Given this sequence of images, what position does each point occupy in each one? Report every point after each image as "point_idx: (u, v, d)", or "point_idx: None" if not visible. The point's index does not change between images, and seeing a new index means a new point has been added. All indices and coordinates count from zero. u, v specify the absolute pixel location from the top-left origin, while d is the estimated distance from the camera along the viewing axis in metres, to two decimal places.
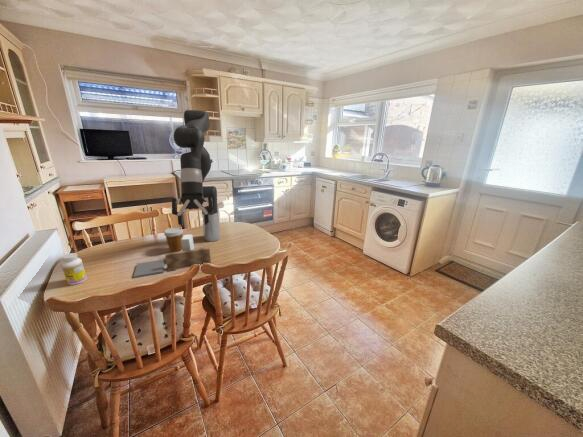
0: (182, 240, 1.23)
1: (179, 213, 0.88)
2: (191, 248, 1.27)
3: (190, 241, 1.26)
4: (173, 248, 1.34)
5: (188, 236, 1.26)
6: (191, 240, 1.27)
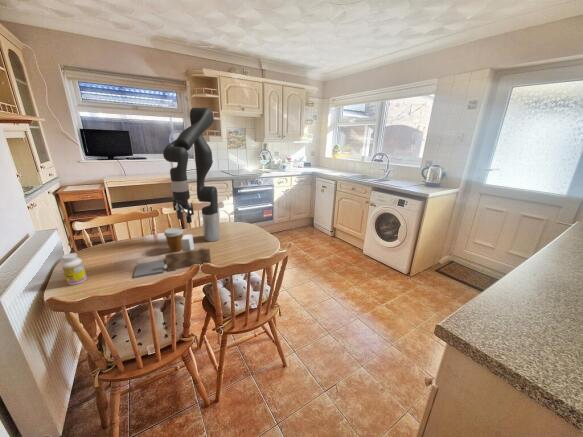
0: (182, 240, 1.23)
1: (176, 210, 1.23)
2: (191, 248, 1.27)
3: (190, 241, 1.26)
4: (173, 248, 1.34)
5: (188, 236, 1.26)
6: (191, 240, 1.27)
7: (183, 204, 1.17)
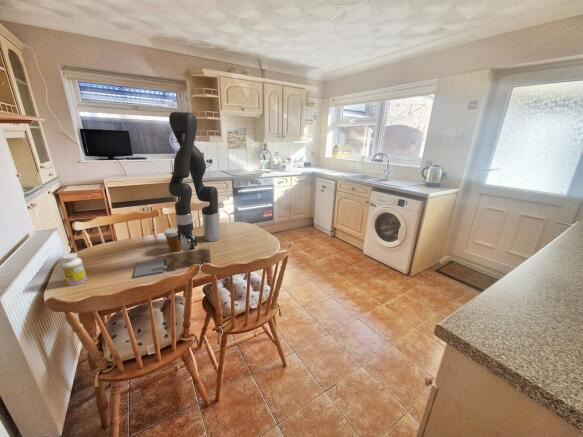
0: (182, 240, 1.23)
1: None
2: None
3: None
4: (173, 248, 1.34)
5: None
6: None
7: (187, 236, 1.23)
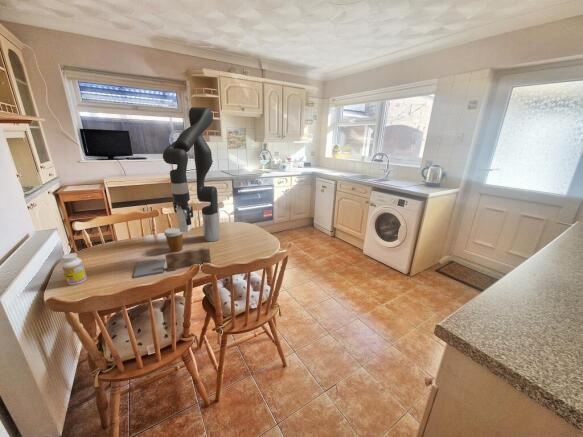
0: (178, 211, 1.18)
1: None
2: None
3: None
4: (173, 248, 1.34)
5: None
6: None
7: (183, 206, 1.18)
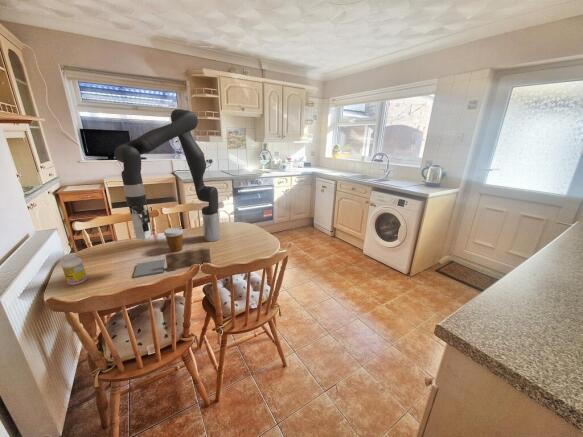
0: (132, 215, 1.06)
1: None
2: None
3: None
4: (173, 248, 1.34)
5: None
6: None
7: (138, 210, 1.05)
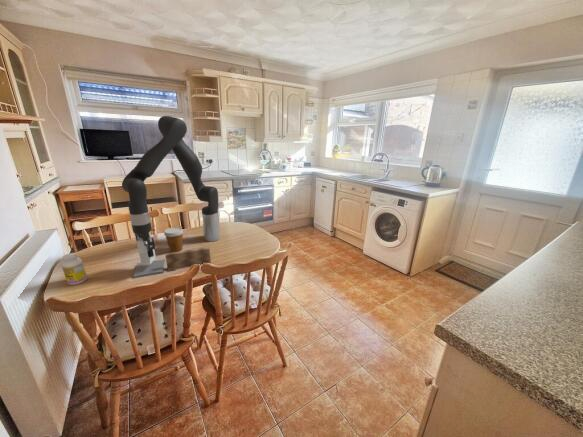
0: (138, 242, 1.10)
1: None
2: None
3: None
4: (173, 248, 1.34)
5: None
6: None
7: (144, 238, 1.10)
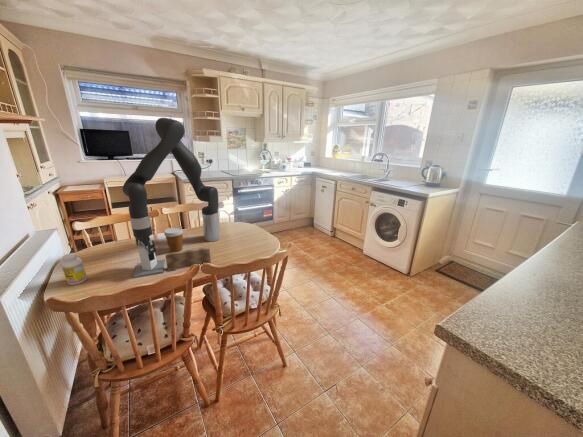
0: (139, 249, 1.11)
1: (138, 246, 1.16)
2: None
3: None
4: (173, 248, 1.34)
5: None
6: None
7: (144, 241, 1.10)
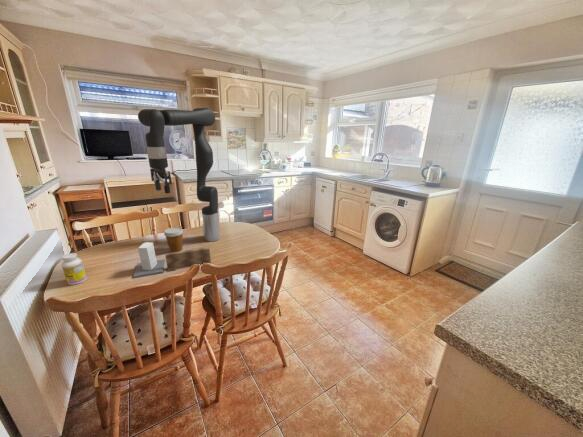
0: (139, 249, 1.11)
1: (154, 181, 1.16)
2: (151, 257, 1.15)
3: (149, 250, 1.14)
4: (173, 248, 1.34)
5: (147, 244, 1.14)
6: (151, 249, 1.15)
7: (160, 172, 1.10)
